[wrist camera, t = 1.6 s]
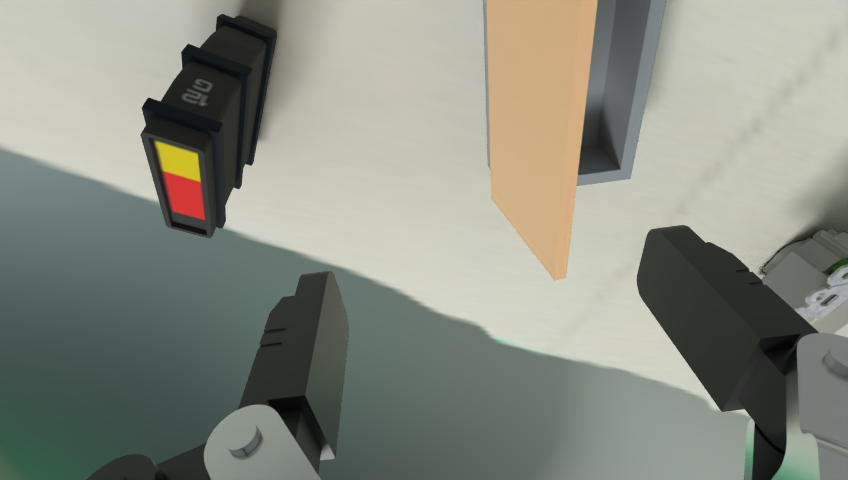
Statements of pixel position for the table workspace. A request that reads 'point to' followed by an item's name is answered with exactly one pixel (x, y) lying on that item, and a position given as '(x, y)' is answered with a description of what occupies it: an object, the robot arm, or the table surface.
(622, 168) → the grey rectangular box
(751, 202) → the table surface
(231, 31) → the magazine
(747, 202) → the table surface
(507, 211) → the tan flat rectangular panel
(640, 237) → the table surface
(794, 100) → the table surface
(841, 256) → the electrical outlet
